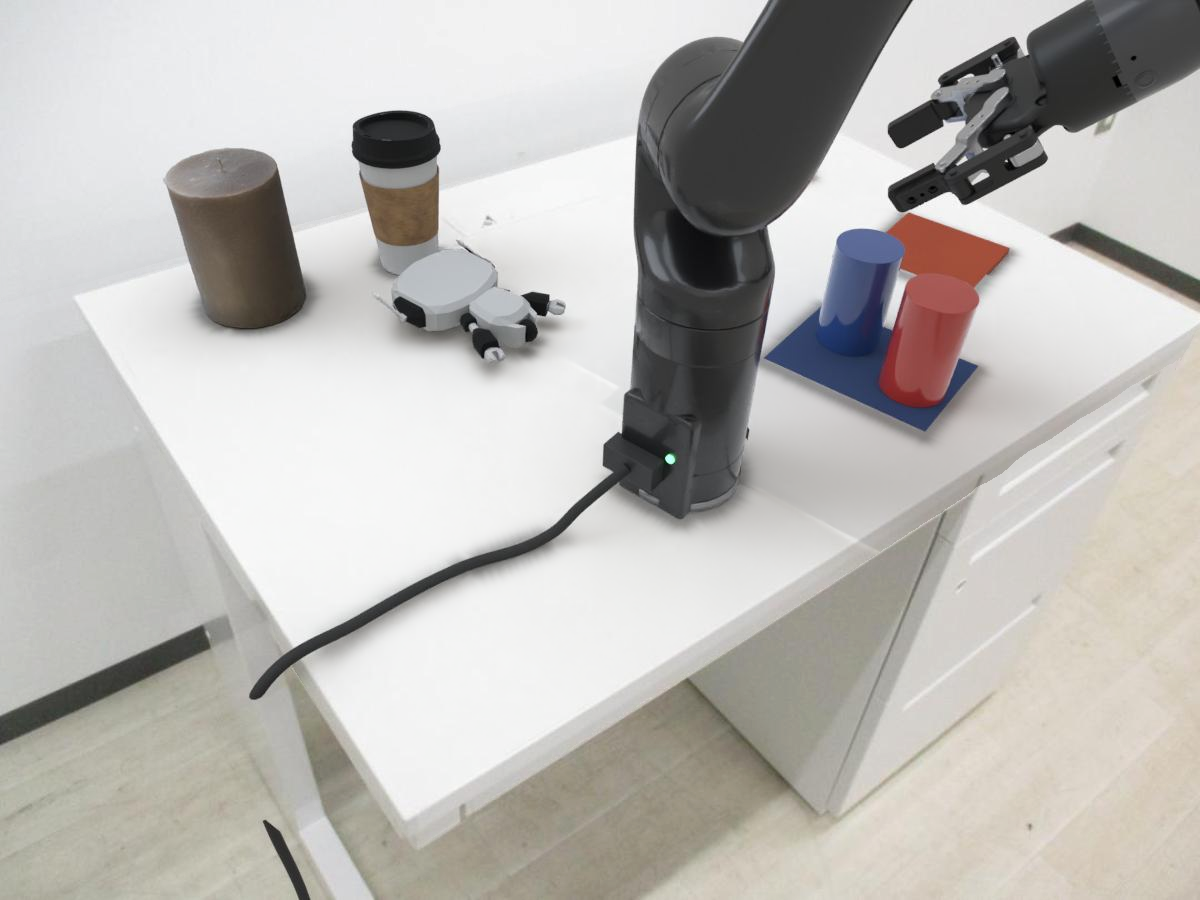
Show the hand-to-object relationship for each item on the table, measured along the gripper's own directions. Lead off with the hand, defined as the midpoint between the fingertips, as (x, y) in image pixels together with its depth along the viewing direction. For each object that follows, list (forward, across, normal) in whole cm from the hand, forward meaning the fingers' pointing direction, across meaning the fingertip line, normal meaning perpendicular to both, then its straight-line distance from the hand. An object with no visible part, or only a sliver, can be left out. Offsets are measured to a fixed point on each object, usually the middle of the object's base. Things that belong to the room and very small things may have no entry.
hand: (892, 168), depth 72 cm
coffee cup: (+48, -8, -12) cm, 50 cm away
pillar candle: (+56, +2, -22) cm, 60 cm away
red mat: (+8, -23, +25) cm, 35 cm away
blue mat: (+12, -1, +18) cm, 22 cm away
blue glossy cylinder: (+13, -4, +16) cm, 22 cm away
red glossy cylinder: (+9, +2, +20) cm, 21 cm away
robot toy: (+40, +1, -7) cm, 41 cm away
